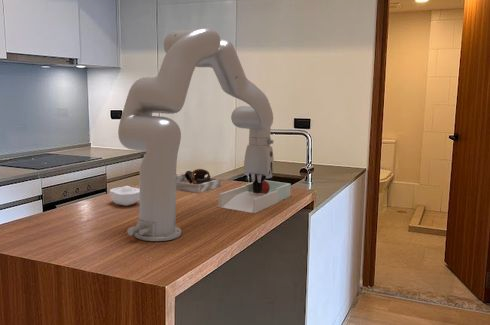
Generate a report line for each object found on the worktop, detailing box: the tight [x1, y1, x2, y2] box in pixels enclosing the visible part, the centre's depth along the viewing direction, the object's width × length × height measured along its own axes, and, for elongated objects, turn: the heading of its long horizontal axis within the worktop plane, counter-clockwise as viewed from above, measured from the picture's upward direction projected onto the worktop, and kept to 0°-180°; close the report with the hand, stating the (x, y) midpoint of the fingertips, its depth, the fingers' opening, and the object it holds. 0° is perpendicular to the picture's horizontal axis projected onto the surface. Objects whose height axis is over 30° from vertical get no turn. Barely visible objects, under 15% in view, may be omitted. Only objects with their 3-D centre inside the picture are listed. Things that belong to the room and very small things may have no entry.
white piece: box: [218, 185, 279, 214], centre depth 161 cm, size 18×14×6 cm
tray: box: [244, 179, 292, 203], centre depth 174 cm, size 12×13×5 cm
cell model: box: [109, 185, 140, 207], centre depth 155 cm, size 10×12×7 cm
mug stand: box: [176, 173, 222, 194], centre depth 188 cm, size 17×19×3 cm
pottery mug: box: [184, 168, 212, 185], centre depth 189 cm, size 12×10×8 cm
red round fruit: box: [261, 179, 270, 194], centre depth 174 cm, size 6×6×8 cm
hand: (257, 192), depth 166 cm, fingers closed
